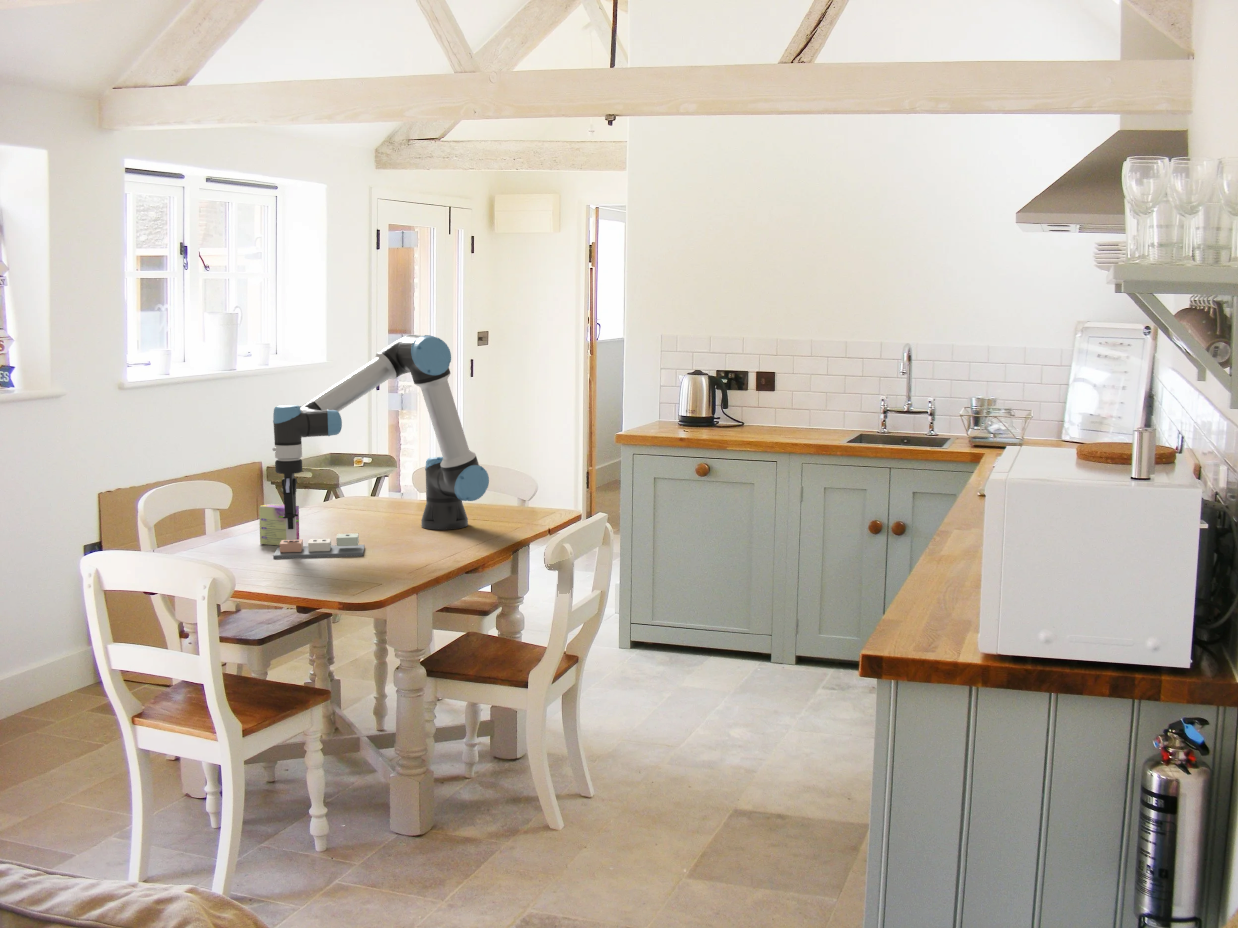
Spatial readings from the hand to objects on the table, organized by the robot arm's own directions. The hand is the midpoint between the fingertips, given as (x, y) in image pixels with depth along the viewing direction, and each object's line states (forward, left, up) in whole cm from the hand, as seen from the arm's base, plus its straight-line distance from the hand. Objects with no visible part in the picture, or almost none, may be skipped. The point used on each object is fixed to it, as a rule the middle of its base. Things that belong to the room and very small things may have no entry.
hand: (291, 539), depth 347 cm
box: (+5, -16, -5) cm, 17 cm away
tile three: (0, 0, -3) cm, 3 cm away
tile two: (-8, 0, -3) cm, 9 cm away
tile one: (-16, 0, -2) cm, 16 cm away
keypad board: (-8, 0, -4) cm, 9 cm away
